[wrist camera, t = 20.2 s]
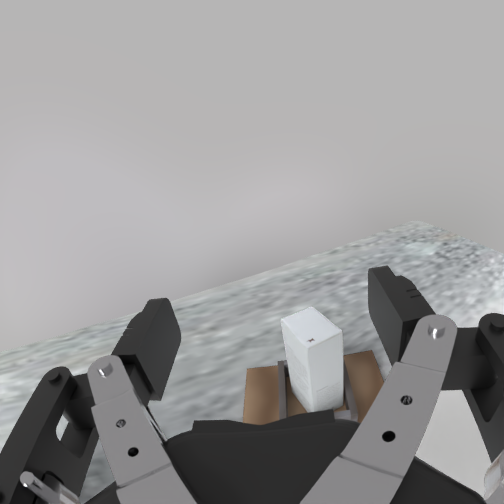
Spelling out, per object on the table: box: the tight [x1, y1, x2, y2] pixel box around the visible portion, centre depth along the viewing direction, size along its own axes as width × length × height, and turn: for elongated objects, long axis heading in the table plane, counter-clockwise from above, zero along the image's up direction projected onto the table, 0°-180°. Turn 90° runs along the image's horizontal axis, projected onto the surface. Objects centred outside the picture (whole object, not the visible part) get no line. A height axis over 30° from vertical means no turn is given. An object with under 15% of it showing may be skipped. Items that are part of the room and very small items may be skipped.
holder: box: [243, 350, 384, 425], centre depth 35 cm, size 18×14×4 cm
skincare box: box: [280, 306, 343, 413], centre depth 33 cm, size 6×4×12 cm
